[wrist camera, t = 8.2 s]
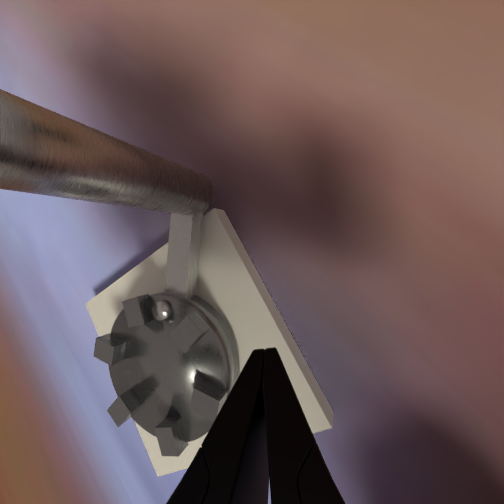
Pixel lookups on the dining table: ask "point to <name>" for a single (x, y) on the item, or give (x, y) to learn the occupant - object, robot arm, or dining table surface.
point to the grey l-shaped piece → (145, 306)
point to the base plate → (231, 310)
